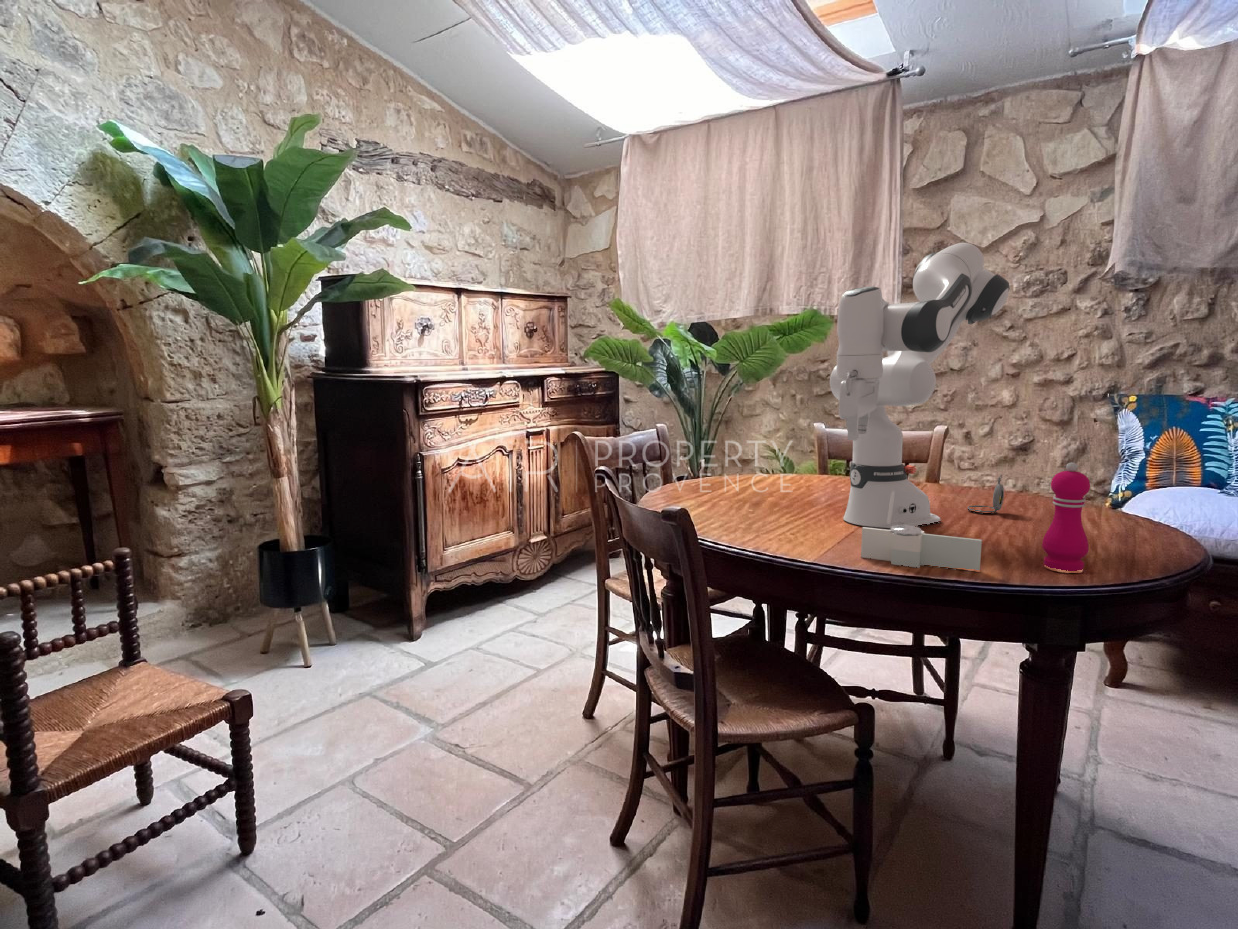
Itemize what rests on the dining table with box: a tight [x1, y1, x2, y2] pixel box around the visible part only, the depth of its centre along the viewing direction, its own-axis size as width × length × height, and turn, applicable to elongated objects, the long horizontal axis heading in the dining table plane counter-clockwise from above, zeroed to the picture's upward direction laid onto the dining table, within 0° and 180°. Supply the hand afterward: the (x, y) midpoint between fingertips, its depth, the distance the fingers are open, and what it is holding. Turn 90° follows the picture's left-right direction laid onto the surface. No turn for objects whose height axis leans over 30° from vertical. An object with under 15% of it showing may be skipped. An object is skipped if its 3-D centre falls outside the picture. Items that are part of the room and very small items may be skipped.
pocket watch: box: [967, 474, 1005, 513], centre depth 175 cm, size 8×8×10 cm
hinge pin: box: [890, 525, 922, 536], centre depth 134 cm, size 5×5×6 cm
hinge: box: [860, 526, 983, 571], centre depth 133 cm, size 21×5×6 cm, turn 59°
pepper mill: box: [1041, 462, 1091, 571], centre depth 128 cm, size 7×7×20 cm
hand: (857, 436), depth 144 cm, fingers open, 8 cm apart
